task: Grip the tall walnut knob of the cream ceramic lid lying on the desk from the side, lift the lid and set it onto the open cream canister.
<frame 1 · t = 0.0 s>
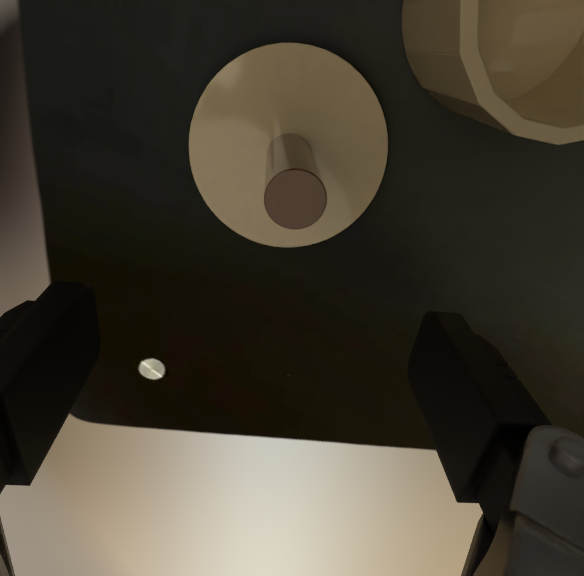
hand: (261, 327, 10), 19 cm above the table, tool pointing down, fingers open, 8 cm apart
lid: (288, 154, 26), point 1 cm above the table
canister: (501, 6, 23), on the table
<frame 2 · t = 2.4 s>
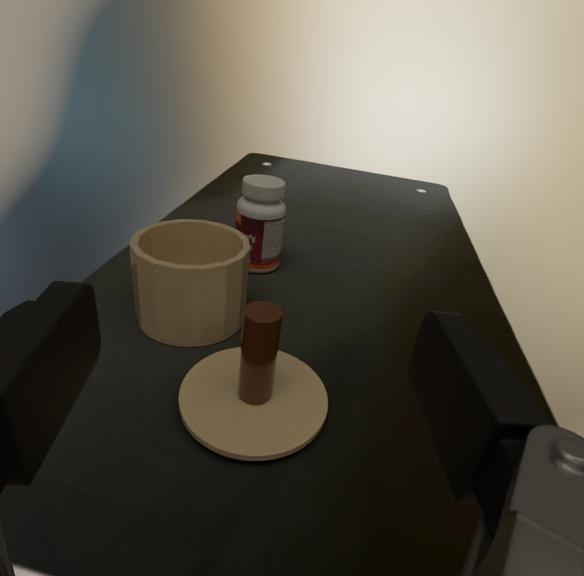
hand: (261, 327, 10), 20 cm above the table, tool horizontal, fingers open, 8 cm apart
lid: (254, 398, 35), point 1 cm above the table
pill bottle: (256, 265, 57), on the table
canister: (192, 314, 45), on the table
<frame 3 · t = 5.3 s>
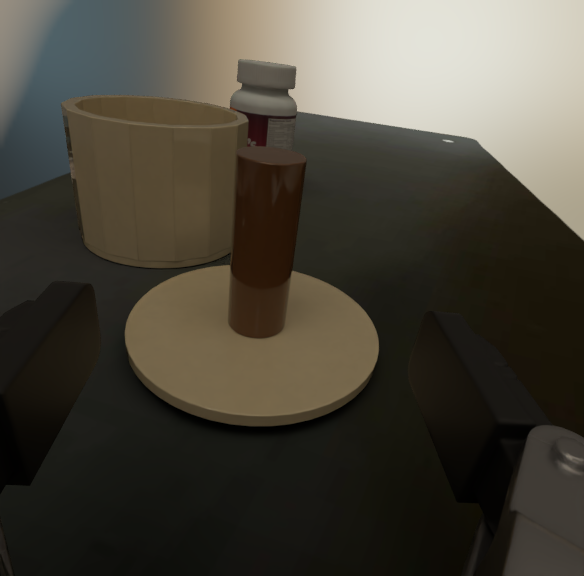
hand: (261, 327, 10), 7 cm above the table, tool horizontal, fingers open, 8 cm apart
lid: (255, 331, 21), point 1 cm above the table
pill bottle: (257, 190, 43), on the table
canister: (164, 233, 31), on the table
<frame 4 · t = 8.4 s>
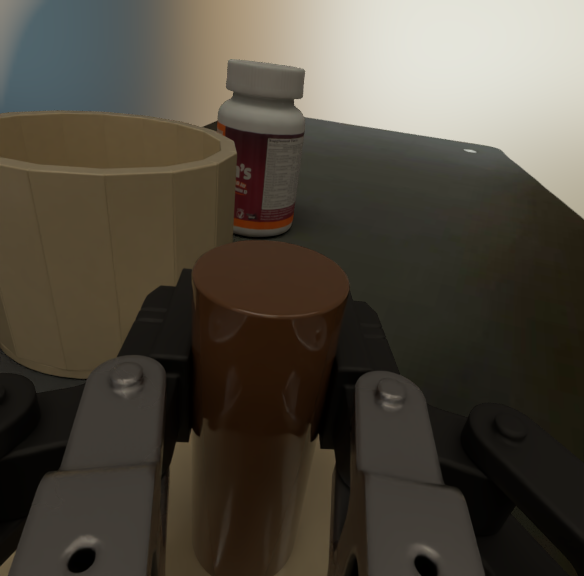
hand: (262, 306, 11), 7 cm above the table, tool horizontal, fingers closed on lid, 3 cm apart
lid: (243, 542, 12), point 1 cm above the table, touching gripper
pill bottle: (253, 226, 34), on the table
canister: (120, 305, 22), on the table
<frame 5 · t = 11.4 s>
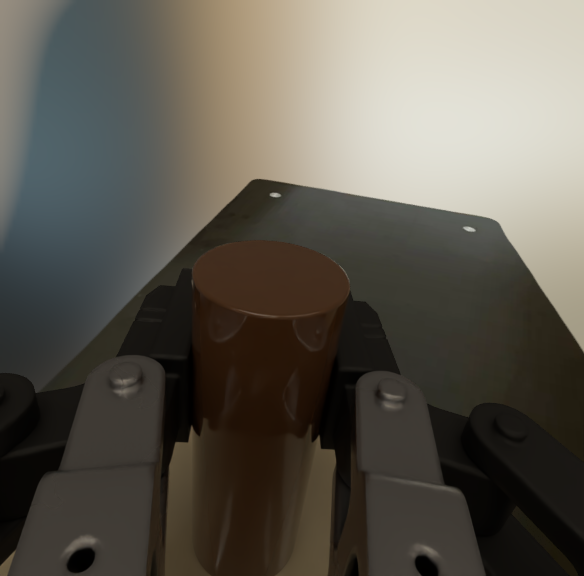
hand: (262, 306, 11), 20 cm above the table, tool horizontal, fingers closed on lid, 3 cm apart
lid: (243, 542, 12), point 14 cm above the table, touching gripper
when the fingers open (14 cm above the table, at t = 14.5 s): lid stays where it is, resting on canister.
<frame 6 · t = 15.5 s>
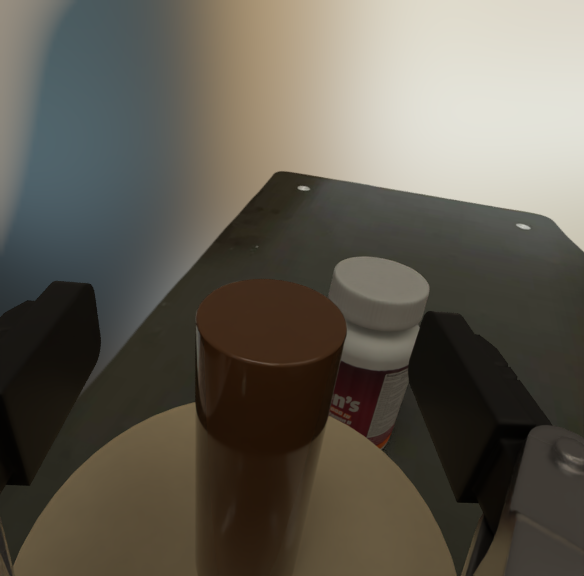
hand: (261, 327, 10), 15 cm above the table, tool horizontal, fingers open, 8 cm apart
lid: (245, 563, 12), point 8 cm above the table, touching canister
pill bottle: (342, 427, 28), on the table
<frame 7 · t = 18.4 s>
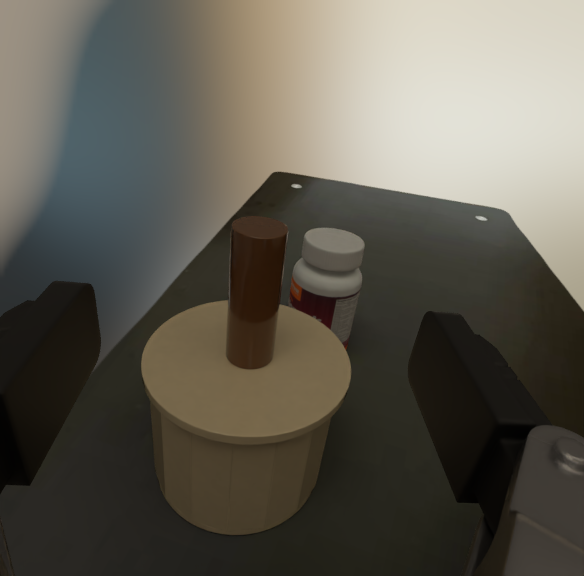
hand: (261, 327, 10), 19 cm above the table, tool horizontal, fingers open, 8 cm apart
lid: (248, 361, 25), point 8 cm above the table, touching canister
pill bottle: (314, 347, 41), on the table
canister: (239, 455, 29), on the table
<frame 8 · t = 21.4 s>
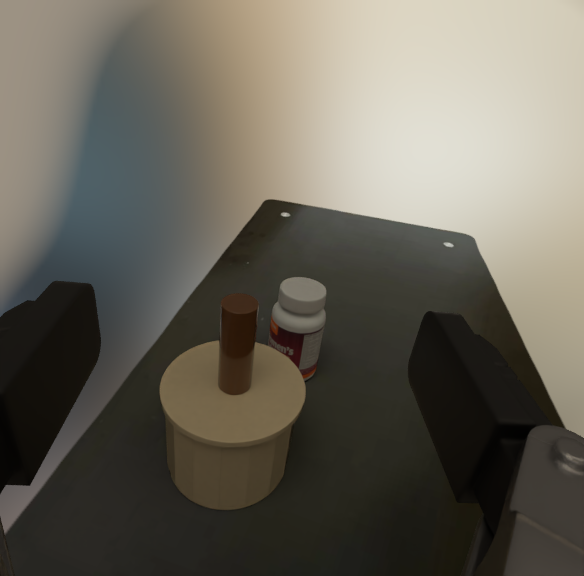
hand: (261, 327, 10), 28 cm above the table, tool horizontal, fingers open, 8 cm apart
lid: (234, 388, 36), point 8 cm above the table, touching canister
pill bottle: (290, 368, 52), on the table
canister: (228, 454, 40), on the table
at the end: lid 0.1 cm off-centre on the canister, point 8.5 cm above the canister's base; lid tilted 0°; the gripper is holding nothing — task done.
